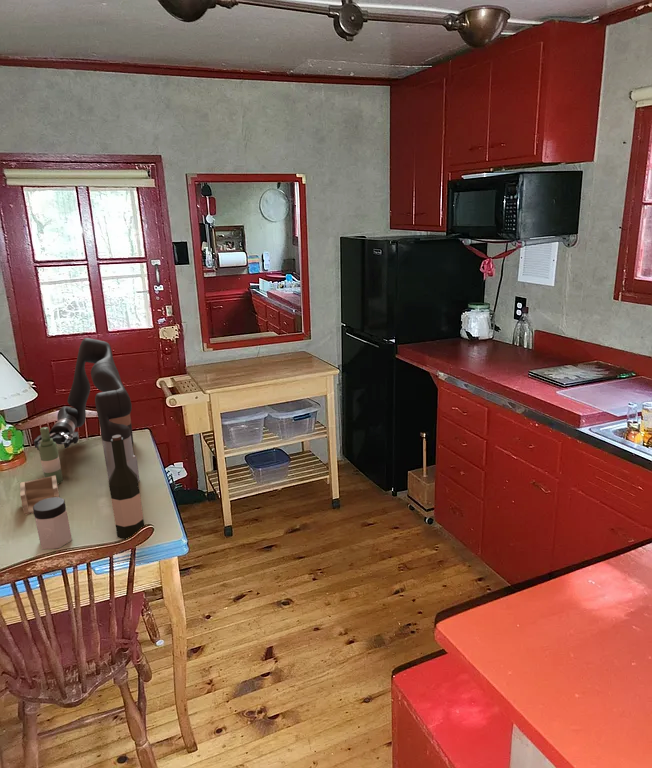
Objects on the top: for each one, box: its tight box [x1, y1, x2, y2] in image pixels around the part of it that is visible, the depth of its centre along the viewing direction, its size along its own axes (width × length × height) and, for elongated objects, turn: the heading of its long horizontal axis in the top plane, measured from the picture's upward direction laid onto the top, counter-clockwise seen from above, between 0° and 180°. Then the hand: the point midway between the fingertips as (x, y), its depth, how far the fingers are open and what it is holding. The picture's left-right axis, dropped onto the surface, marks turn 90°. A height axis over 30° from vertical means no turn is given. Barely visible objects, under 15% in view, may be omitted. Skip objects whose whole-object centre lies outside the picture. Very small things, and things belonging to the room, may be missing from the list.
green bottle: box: [38, 426, 64, 485], centre depth 196 cm, size 6×6×20 cm
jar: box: [33, 496, 73, 550], centre depth 161 cm, size 9×8×12 cm
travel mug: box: [109, 413, 134, 444], centre depth 227 cm, size 8×8×20 cm
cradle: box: [19, 475, 60, 516], centre depth 183 cm, size 10×10×7 cm
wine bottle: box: [108, 435, 145, 540], centre depth 162 cm, size 8×8×30 cm
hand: (52, 447), depth 201 cm, fingers open, 8 cm apart
